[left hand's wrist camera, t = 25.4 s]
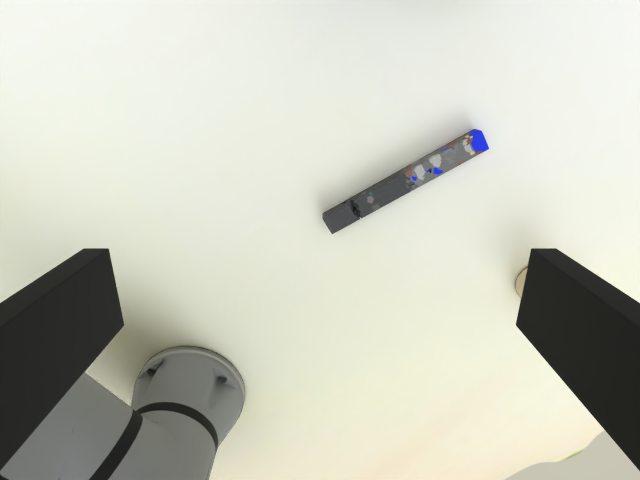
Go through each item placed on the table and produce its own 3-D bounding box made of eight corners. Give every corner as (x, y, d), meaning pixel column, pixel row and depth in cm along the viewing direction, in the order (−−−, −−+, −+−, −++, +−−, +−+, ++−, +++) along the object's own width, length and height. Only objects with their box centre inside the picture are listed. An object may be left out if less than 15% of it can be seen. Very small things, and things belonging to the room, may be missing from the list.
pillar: (322, 218, 45) (484, 129, 42) (322, 213, 47) (476, 127, 44) (332, 234, 46) (492, 147, 42) (331, 228, 48) (484, 144, 44)
